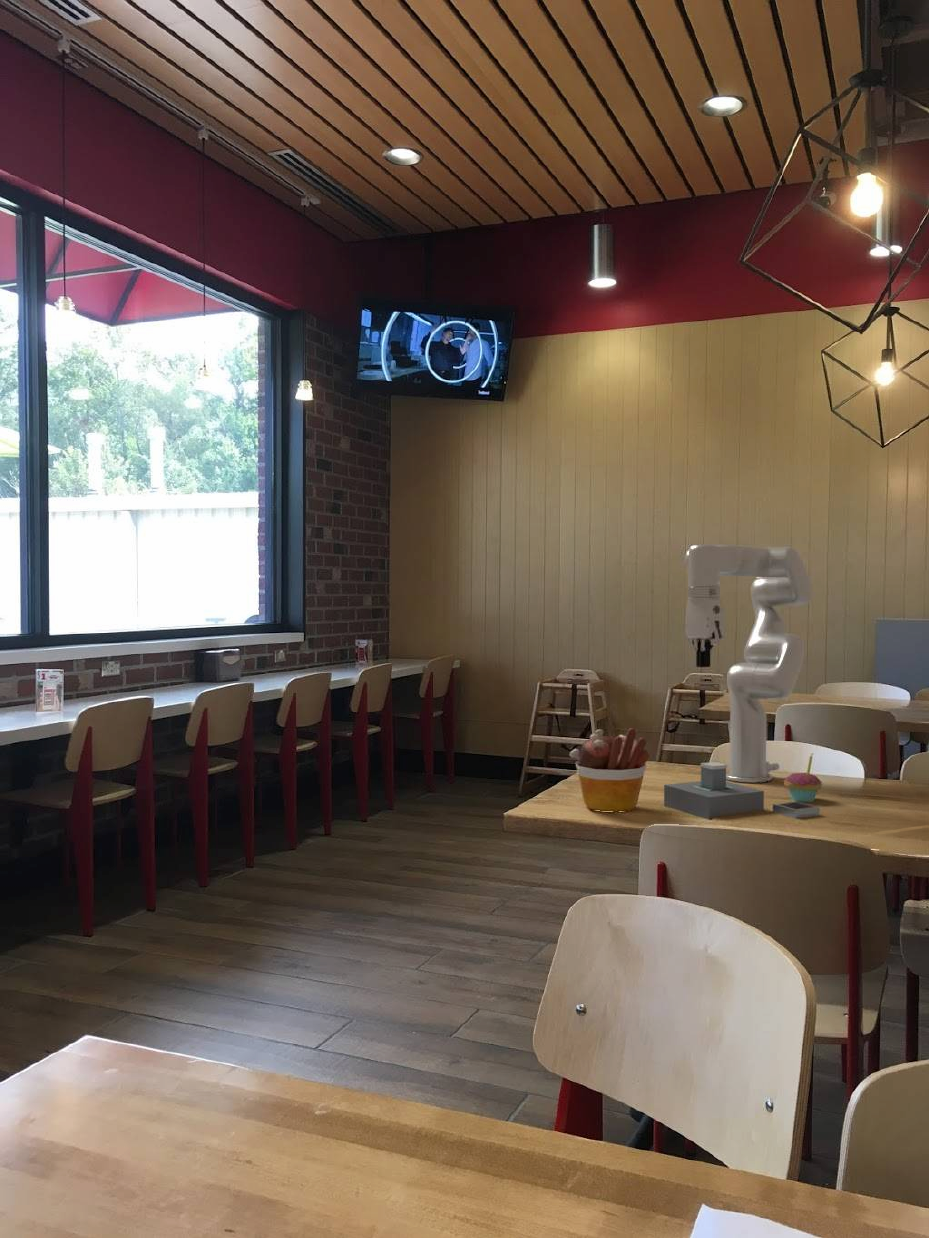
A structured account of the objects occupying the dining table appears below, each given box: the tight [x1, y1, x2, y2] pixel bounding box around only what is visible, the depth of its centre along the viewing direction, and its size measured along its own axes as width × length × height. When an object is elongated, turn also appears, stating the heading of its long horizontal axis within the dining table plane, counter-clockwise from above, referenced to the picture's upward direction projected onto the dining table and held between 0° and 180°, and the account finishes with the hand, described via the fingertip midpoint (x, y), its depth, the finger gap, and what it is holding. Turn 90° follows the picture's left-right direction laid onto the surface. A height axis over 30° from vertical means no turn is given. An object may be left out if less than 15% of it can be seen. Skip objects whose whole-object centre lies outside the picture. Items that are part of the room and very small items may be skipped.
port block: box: [663, 780, 765, 820], centre depth 233 cm, size 16×16×5 cm
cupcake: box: [783, 753, 823, 803], centre depth 241 cm, size 9×8×12 cm
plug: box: [700, 761, 728, 791], centre depth 233 cm, size 4×4×10 cm
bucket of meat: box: [569, 727, 650, 812], centre depth 234 cm, size 20×16×20 cm
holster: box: [772, 801, 821, 819], centre depth 226 cm, size 7×7×2 cm
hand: (703, 666), depth 251 cm, fingers closed
